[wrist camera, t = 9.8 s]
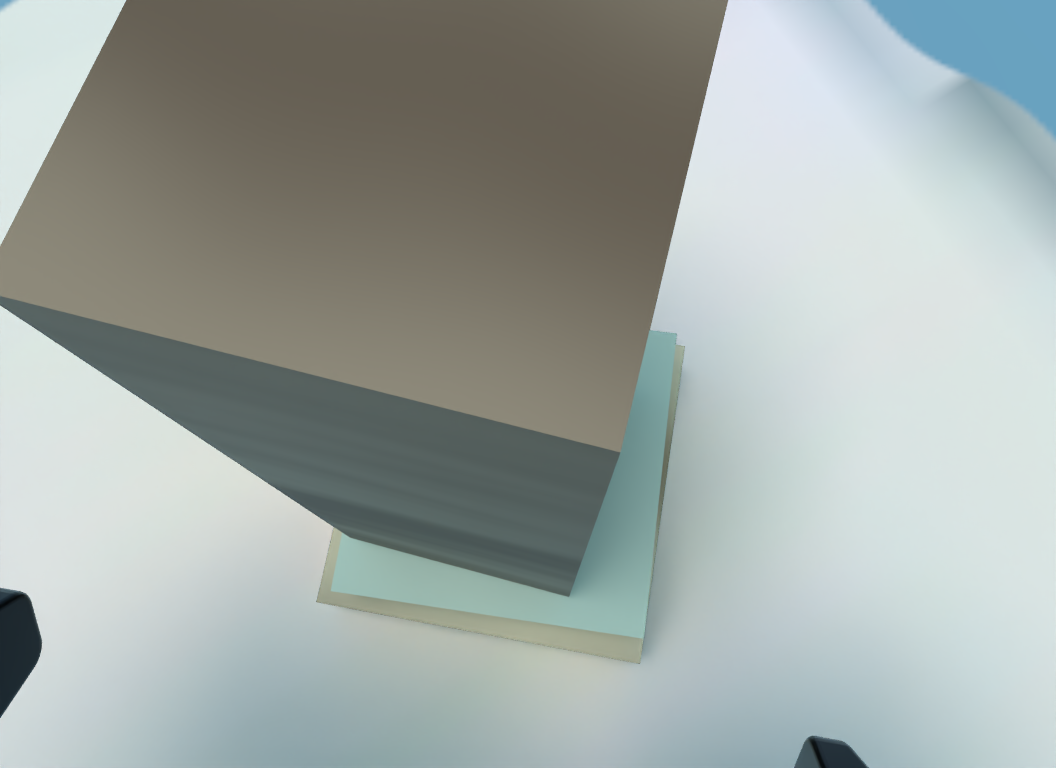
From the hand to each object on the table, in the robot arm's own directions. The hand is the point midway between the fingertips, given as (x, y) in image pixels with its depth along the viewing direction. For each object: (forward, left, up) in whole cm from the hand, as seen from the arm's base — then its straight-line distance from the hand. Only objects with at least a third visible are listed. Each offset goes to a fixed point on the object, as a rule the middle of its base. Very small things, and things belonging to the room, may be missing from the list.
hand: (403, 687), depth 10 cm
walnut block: (+2, -4, -9) cm, 10 cm away
